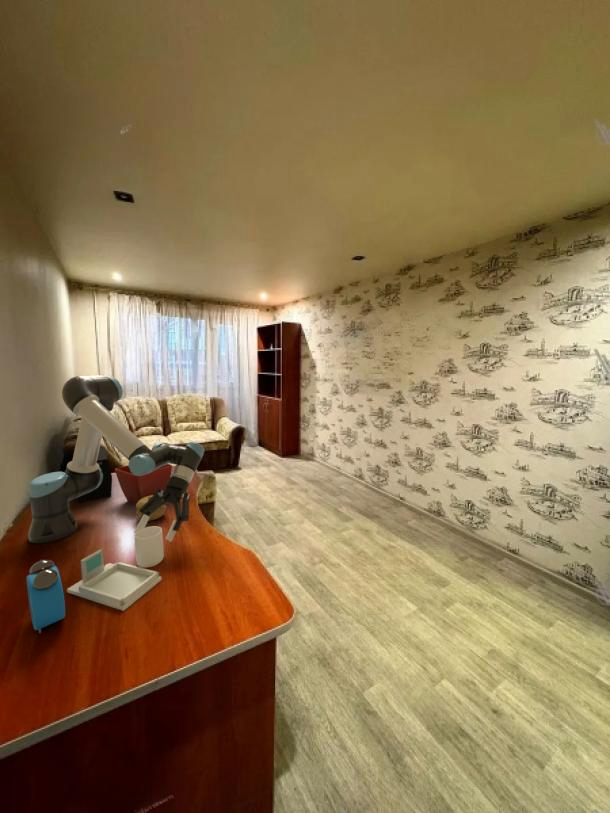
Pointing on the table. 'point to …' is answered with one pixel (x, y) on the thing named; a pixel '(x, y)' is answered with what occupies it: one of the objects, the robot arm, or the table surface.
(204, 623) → the table surface
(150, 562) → the cup
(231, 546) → the table surface
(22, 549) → the table surface
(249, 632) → the table surface
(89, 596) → the dock
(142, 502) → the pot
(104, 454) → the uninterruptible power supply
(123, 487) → the plant pot
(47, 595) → the alarm clock
